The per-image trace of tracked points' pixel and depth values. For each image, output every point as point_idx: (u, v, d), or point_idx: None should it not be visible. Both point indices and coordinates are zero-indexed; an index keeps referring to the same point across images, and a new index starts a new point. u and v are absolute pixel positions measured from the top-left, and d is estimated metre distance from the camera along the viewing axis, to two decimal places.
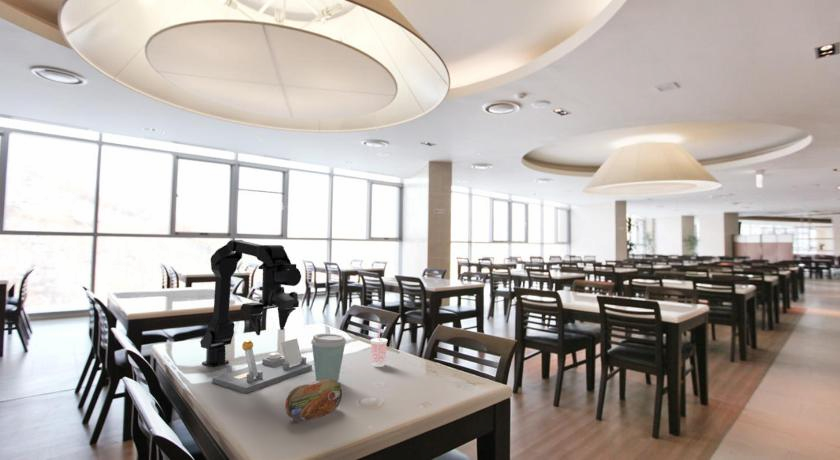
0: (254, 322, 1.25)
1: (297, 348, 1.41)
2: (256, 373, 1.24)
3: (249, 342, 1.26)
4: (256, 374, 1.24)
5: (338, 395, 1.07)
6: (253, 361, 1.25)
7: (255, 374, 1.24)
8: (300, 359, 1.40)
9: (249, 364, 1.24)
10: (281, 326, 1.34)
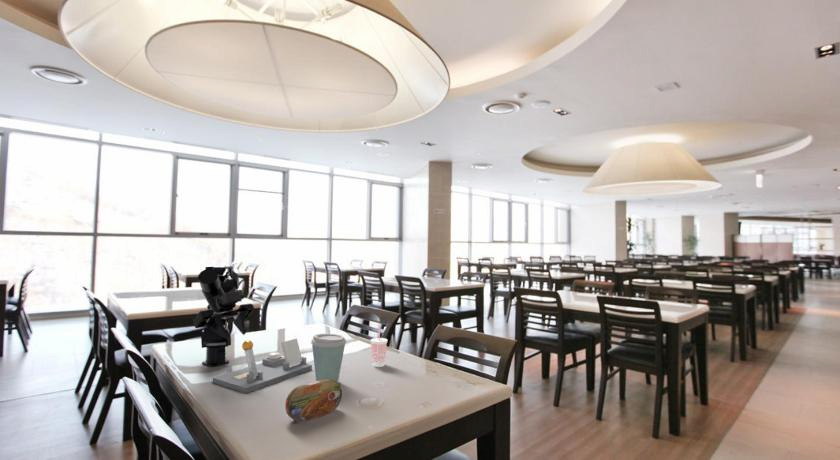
0: (217, 328, 1.27)
1: (297, 348, 1.41)
2: (256, 373, 1.24)
3: (249, 342, 1.26)
4: (256, 374, 1.24)
5: (338, 395, 1.07)
6: (253, 361, 1.25)
7: (255, 374, 1.24)
8: (300, 359, 1.40)
9: (249, 364, 1.24)
10: (242, 331, 1.32)
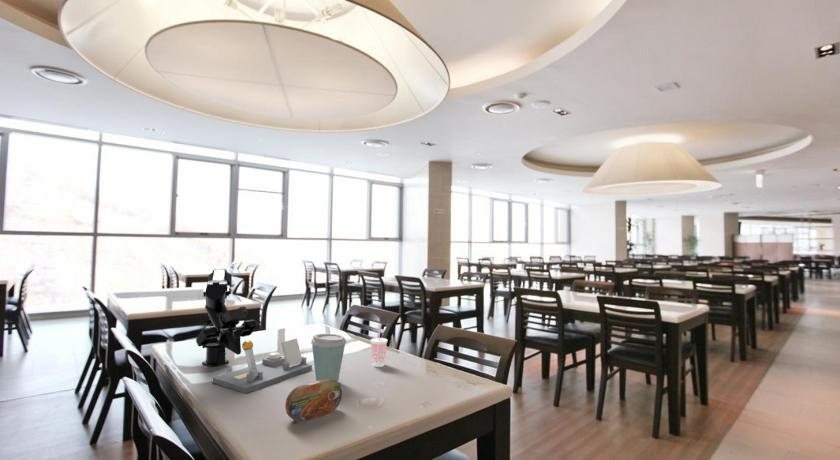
0: (229, 345, 1.28)
1: (297, 348, 1.41)
2: (256, 373, 1.24)
3: (249, 342, 1.26)
4: (256, 374, 1.24)
5: (338, 395, 1.07)
6: (253, 361, 1.25)
7: (255, 374, 1.24)
8: (300, 359, 1.40)
9: (249, 364, 1.24)
10: None
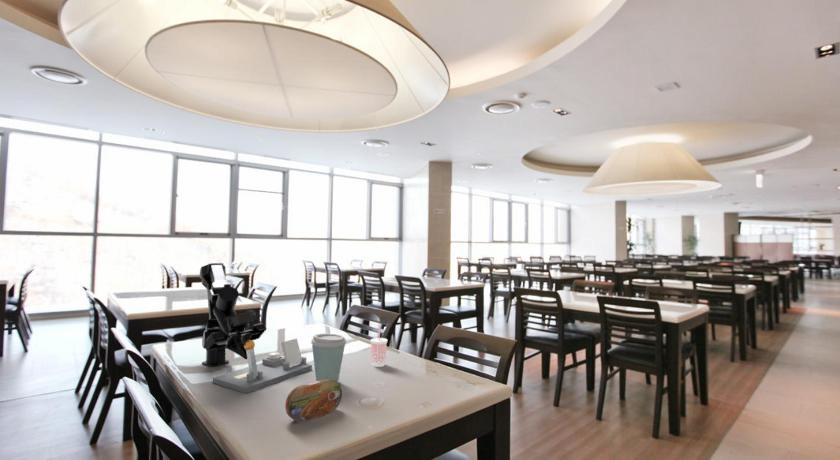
0: (237, 349, 1.26)
1: (297, 348, 1.41)
2: (256, 373, 1.24)
3: (251, 342, 1.25)
4: (256, 374, 1.24)
5: (338, 395, 1.07)
6: (254, 361, 1.25)
7: (255, 374, 1.24)
8: (300, 359, 1.40)
9: (249, 364, 1.24)
10: (246, 355, 1.26)
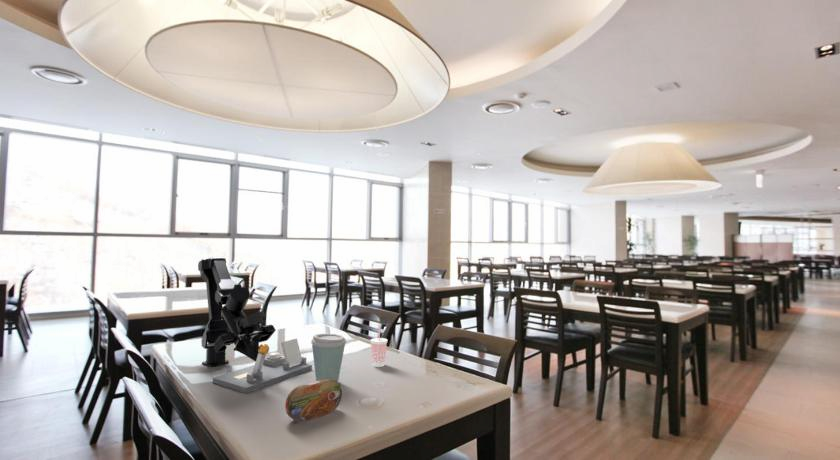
0: (246, 351, 1.24)
1: (297, 348, 1.41)
2: (258, 375, 1.24)
3: (266, 349, 1.22)
4: (257, 376, 1.24)
5: (338, 395, 1.07)
6: (261, 365, 1.23)
7: (256, 376, 1.23)
8: (300, 359, 1.40)
9: (255, 365, 1.23)
10: (256, 357, 1.24)
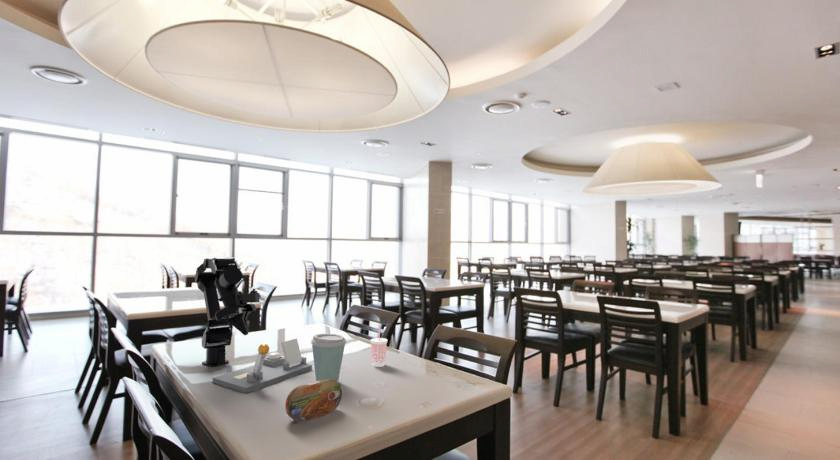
0: (238, 324, 1.33)
1: (297, 348, 1.41)
2: (258, 375, 1.24)
3: (266, 349, 1.21)
4: (257, 376, 1.24)
5: (338, 395, 1.07)
6: (261, 365, 1.23)
7: (256, 376, 1.23)
8: (300, 359, 1.40)
9: (255, 365, 1.23)
10: None
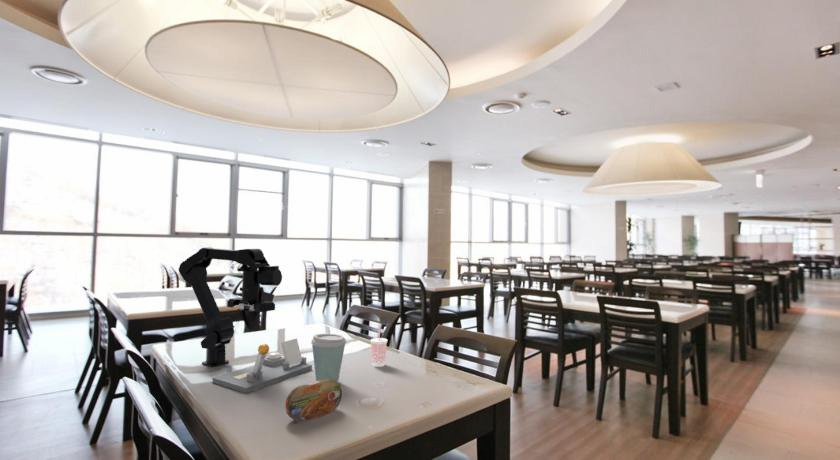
0: (251, 318, 1.40)
1: (297, 348, 1.41)
2: (258, 375, 1.24)
3: (266, 349, 1.21)
4: (257, 376, 1.24)
5: (338, 395, 1.07)
6: (261, 365, 1.23)
7: (256, 376, 1.23)
8: (300, 359, 1.40)
9: (255, 365, 1.23)
10: None
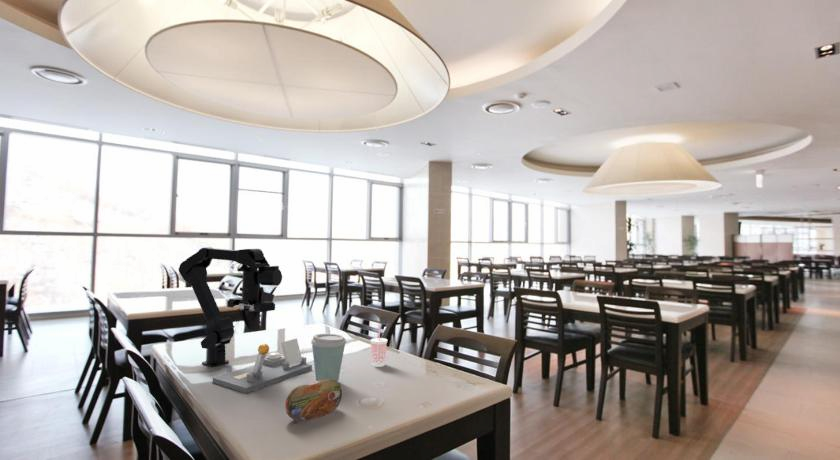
0: (251, 318, 1.40)
1: (297, 348, 1.41)
2: (258, 375, 1.24)
3: (266, 349, 1.21)
4: (257, 376, 1.24)
5: (338, 395, 1.07)
6: (261, 365, 1.23)
7: (256, 376, 1.23)
8: (300, 359, 1.40)
9: (255, 365, 1.23)
10: None
